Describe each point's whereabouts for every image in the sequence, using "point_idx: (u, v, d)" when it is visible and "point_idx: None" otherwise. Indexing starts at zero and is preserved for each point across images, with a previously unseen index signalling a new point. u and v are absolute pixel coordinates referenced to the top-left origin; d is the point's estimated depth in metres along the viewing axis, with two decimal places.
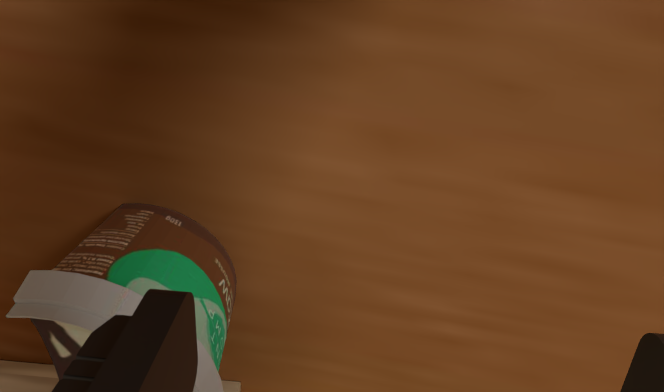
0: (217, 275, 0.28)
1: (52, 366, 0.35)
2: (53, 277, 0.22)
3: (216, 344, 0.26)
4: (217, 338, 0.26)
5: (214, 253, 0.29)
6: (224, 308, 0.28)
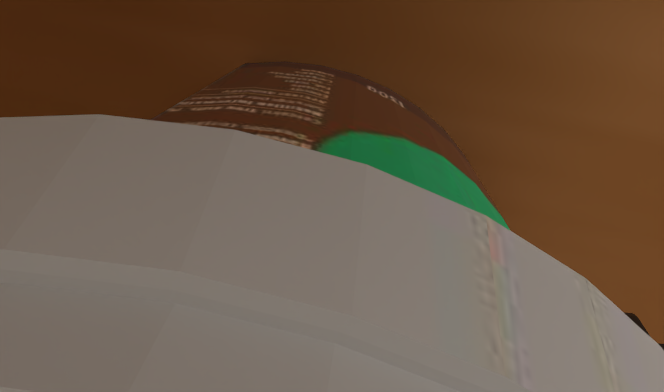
0: None
1: None
2: (111, 143, 0.04)
3: None
4: None
5: None
6: None
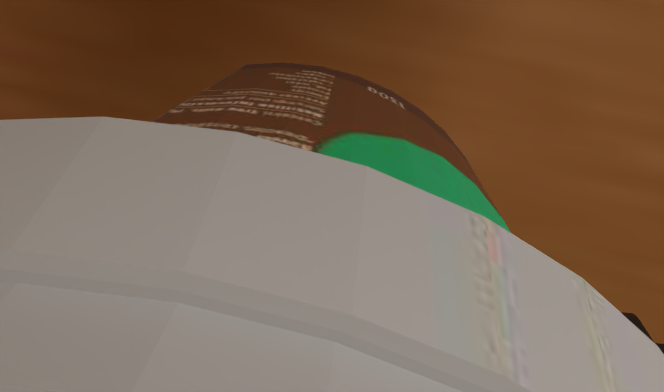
0: None
1: None
2: (114, 145, 0.04)
3: None
4: None
5: None
6: None
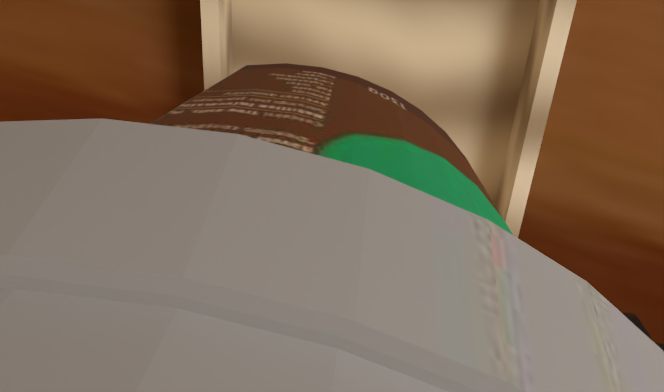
0: None
1: None
2: (113, 147, 0.04)
3: None
4: None
5: None
6: None
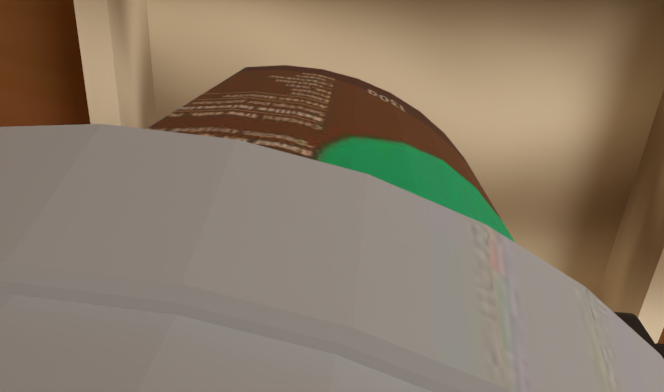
0: None
1: None
2: (113, 153, 0.04)
3: None
4: None
5: None
6: None
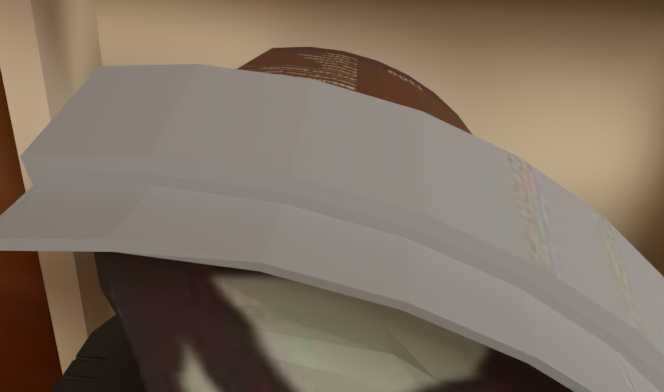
0: None
1: None
2: (213, 85, 0.05)
3: None
4: None
5: None
6: None
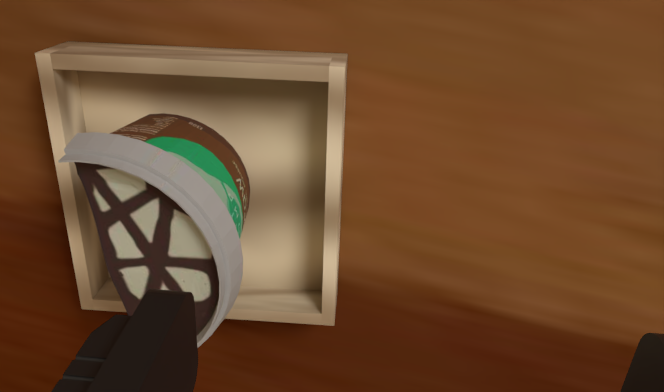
0: (234, 173, 0.32)
1: (140, 45, 0.32)
2: (97, 136, 0.25)
3: (235, 223, 0.29)
4: (235, 219, 0.29)
5: (231, 156, 0.32)
6: (241, 201, 0.31)
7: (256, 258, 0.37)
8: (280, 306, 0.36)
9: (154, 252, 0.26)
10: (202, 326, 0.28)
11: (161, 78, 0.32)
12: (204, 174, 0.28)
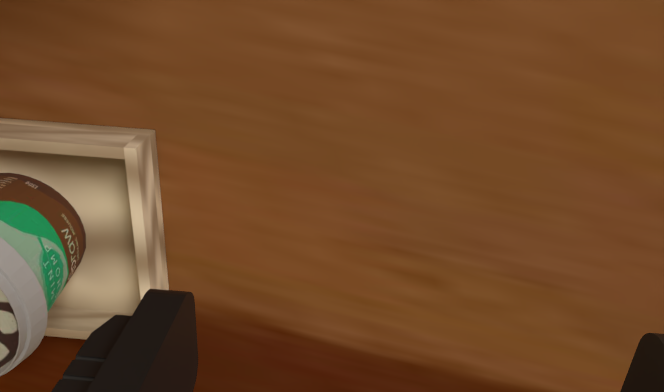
0: (61, 225, 0.39)
1: None
2: None
3: (49, 270, 0.37)
4: (51, 266, 0.37)
5: (62, 210, 0.40)
6: (64, 248, 0.39)
7: (97, 288, 0.44)
8: None
9: None
10: (15, 352, 0.35)
11: None
12: (18, 233, 0.35)
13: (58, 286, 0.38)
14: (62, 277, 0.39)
